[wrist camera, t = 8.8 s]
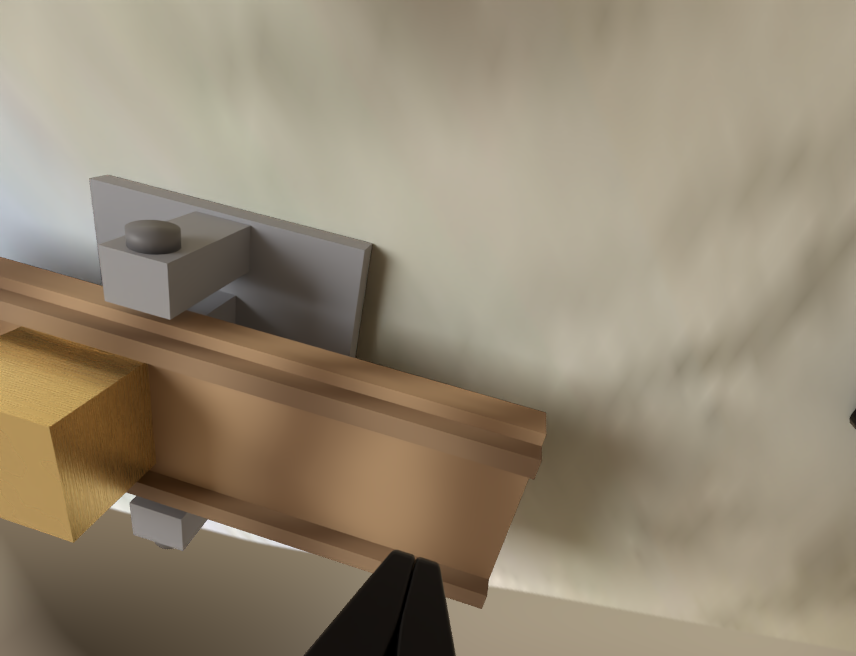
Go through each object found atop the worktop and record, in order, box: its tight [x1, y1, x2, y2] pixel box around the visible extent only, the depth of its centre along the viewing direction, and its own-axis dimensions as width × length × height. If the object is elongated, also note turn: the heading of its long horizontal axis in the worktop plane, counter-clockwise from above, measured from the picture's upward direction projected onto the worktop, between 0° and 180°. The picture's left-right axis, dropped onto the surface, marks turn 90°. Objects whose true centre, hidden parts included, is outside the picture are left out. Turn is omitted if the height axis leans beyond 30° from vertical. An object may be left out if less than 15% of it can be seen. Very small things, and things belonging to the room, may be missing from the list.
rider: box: [0, 326, 156, 543], centre depth 17 cm, size 5×5×4 cm
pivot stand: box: [89, 175, 372, 551], centre depth 21 cm, size 12×15×6 cm
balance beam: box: [0, 257, 546, 609], centre depth 19 cm, size 28×9×2 cm, turn 79°
